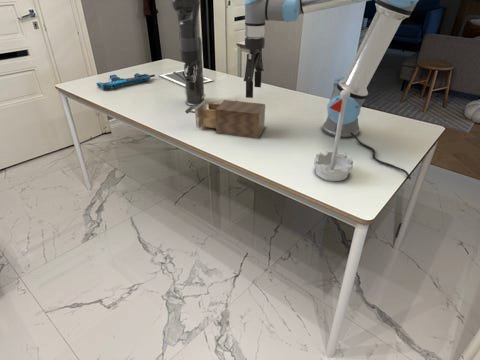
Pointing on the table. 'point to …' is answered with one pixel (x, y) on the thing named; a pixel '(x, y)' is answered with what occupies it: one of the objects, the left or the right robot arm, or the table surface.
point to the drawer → (204, 114)
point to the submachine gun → (124, 81)
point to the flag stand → (335, 150)
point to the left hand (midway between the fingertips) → (193, 90)
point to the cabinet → (240, 118)
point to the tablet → (179, 80)
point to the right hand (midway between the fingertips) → (253, 92)
